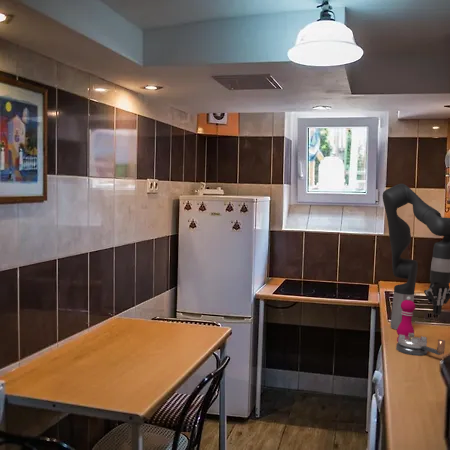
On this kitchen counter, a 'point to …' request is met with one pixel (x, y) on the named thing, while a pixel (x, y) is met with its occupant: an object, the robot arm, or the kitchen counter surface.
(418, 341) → the crank handle
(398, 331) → the pepper mill
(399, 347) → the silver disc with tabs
